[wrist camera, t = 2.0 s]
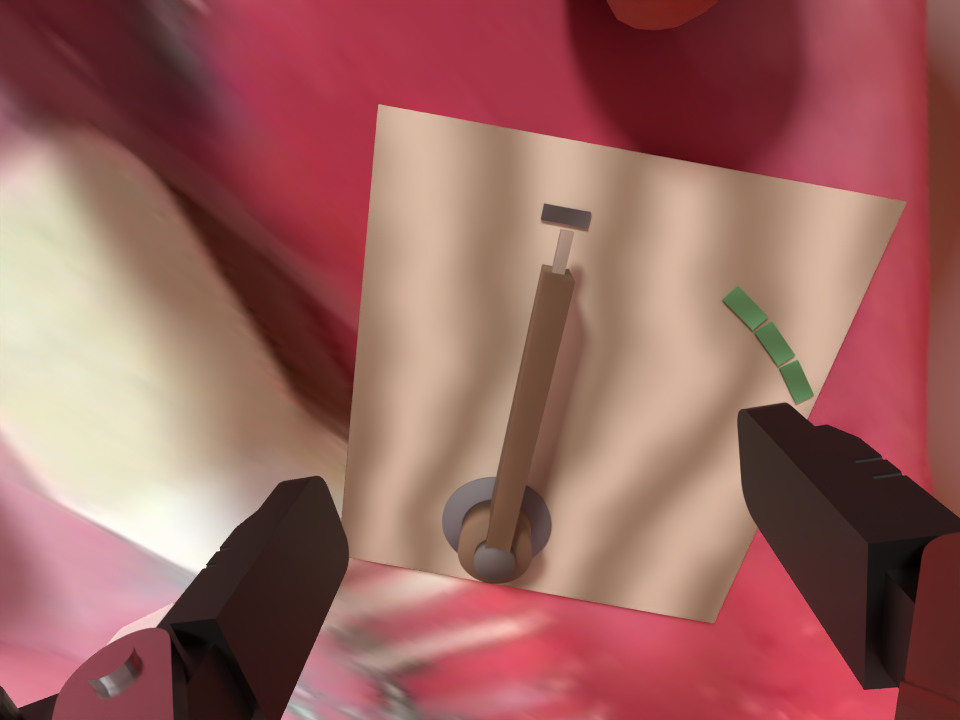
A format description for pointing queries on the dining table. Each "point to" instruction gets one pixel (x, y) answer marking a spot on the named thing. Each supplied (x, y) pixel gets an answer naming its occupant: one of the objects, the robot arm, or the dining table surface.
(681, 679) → the dining table surface
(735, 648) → the dining table surface
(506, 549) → the dial lever
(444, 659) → the dining table surface
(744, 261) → the dial board
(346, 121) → the dining table surface
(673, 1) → the vegetable
